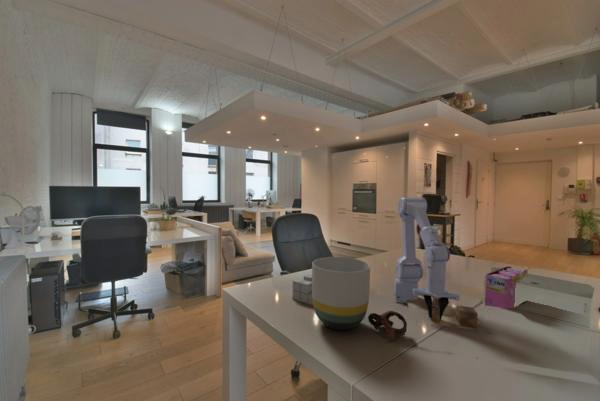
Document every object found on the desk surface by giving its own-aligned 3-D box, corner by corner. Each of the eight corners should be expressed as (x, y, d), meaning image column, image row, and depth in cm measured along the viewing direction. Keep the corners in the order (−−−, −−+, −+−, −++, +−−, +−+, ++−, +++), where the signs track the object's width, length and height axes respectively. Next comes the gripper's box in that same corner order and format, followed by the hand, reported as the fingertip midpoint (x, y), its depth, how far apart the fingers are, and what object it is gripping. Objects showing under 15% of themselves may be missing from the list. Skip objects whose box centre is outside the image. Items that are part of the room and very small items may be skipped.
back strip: (435, 315, 101) (435, 301, 101) (431, 307, 108) (432, 294, 108) (476, 321, 97) (477, 306, 97) (470, 312, 104) (470, 298, 104)
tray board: (431, 329, 91) (431, 325, 91) (422, 306, 110) (422, 302, 110) (489, 338, 87) (490, 333, 87) (470, 312, 105) (470, 308, 105)
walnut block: (460, 326, 91) (460, 311, 91) (456, 319, 96) (456, 305, 96) (477, 328, 90) (477, 313, 90) (472, 321, 95) (472, 307, 95)
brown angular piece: (432, 326, 93) (433, 311, 92) (429, 317, 100) (429, 302, 100) (478, 333, 89) (478, 317, 89) (470, 322, 96) (471, 307, 96)
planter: (331, 346, 81) (333, 275, 80) (301, 318, 98) (302, 260, 97) (381, 332, 90) (382, 267, 89) (345, 308, 107) (346, 254, 106)
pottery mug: (399, 327, 94) (408, 312, 89) (400, 353, 86) (410, 338, 81) (365, 315, 96) (372, 300, 91) (363, 339, 88) (370, 324, 83)
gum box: (507, 294, 125) (508, 265, 125) (528, 300, 118) (530, 269, 118) (483, 306, 112) (485, 273, 111) (506, 313, 105) (508, 279, 105)
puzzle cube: (316, 306, 109) (316, 286, 109) (292, 299, 116) (292, 280, 116) (330, 297, 119) (331, 279, 119) (308, 291, 126) (308, 274, 126)
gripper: (415, 280, 94) (413, 319, 94) (462, 285, 90) (461, 325, 90) (412, 274, 100) (411, 310, 101) (456, 278, 96) (455, 316, 97)
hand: (434, 317), depth 96 cm, fingers closed on brown angular piece, 2 cm apart
